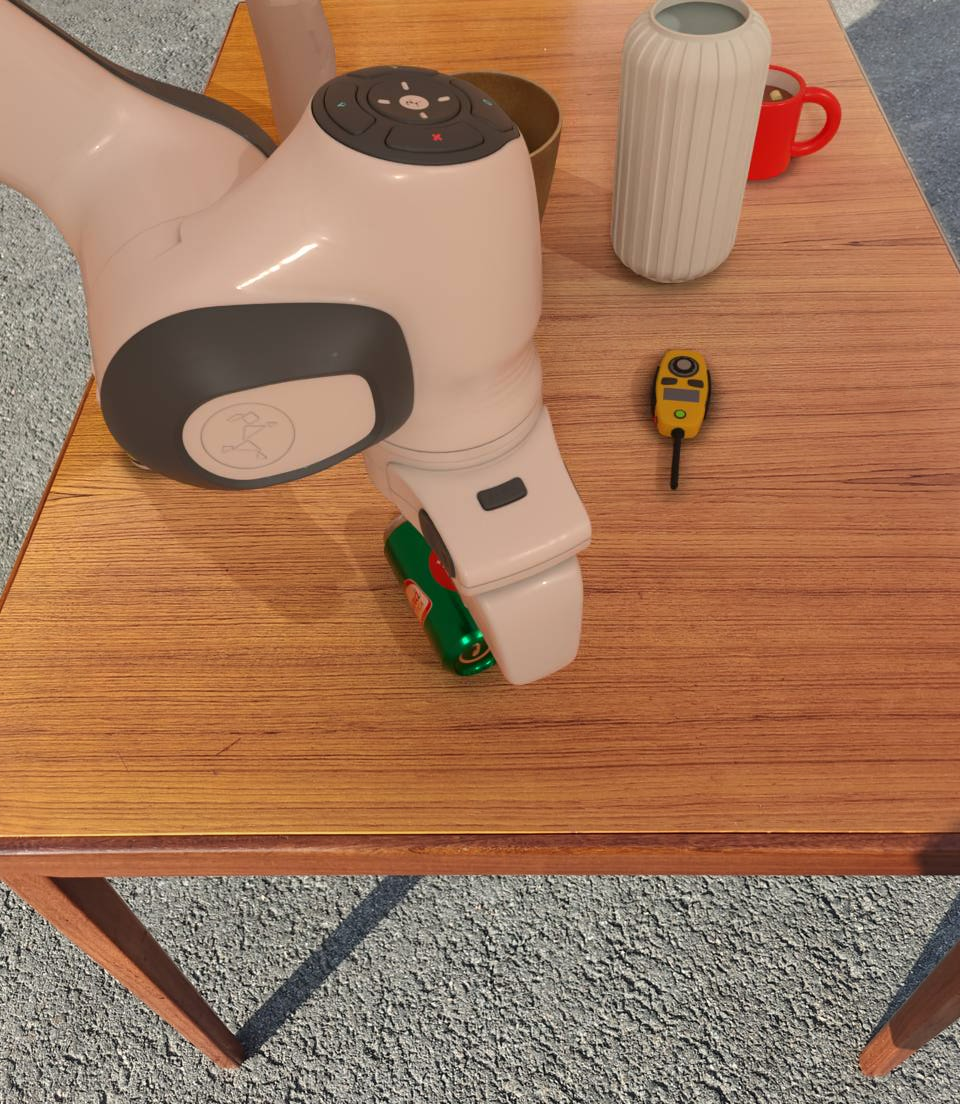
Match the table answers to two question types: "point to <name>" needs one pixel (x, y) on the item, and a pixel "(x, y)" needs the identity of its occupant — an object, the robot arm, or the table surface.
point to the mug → (788, 122)
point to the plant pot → (526, 119)
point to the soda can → (435, 601)
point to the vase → (686, 134)
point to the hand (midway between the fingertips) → (469, 586)
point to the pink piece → (292, 55)
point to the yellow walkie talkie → (680, 399)
